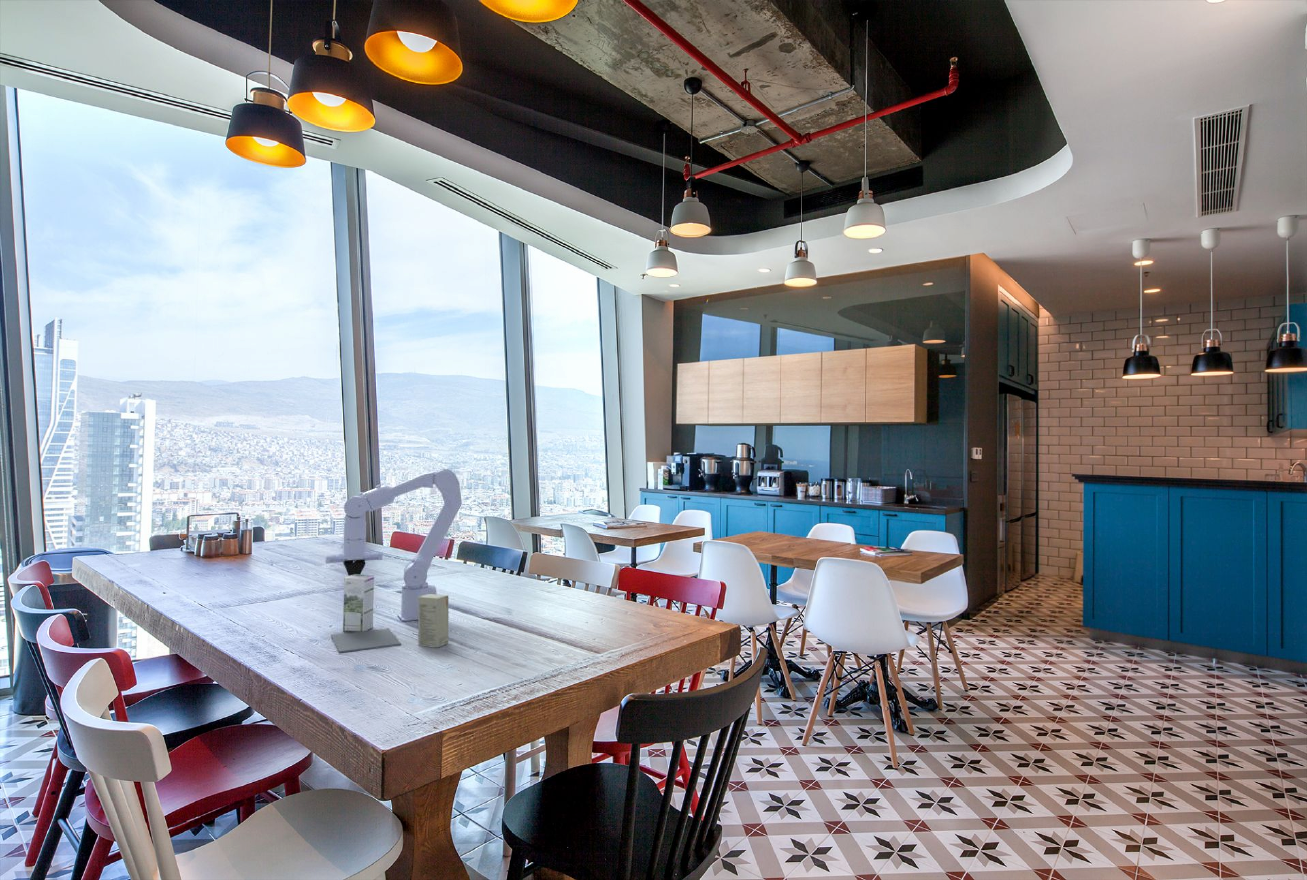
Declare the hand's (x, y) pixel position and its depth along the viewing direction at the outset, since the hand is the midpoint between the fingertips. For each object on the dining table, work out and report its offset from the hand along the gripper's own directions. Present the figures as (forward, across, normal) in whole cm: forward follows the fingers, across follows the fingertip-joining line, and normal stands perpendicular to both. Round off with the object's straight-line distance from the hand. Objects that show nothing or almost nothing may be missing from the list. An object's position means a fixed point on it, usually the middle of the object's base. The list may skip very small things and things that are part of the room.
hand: (353, 587), depth 186 cm
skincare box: (+10, -14, +33) cm, 38 cm away
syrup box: (+10, 0, +10) cm, 14 cm away
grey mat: (+10, 0, +22) cm, 24 cm away
